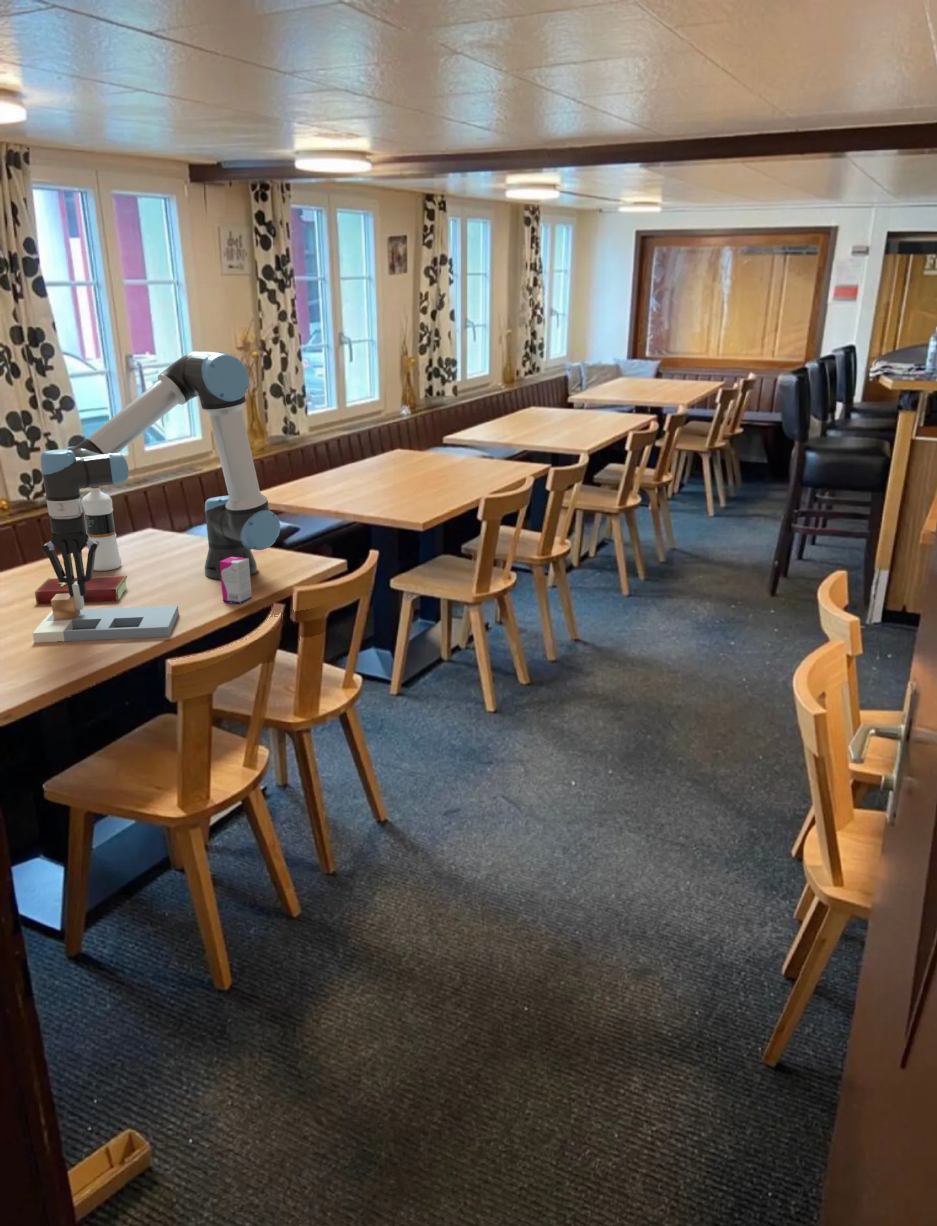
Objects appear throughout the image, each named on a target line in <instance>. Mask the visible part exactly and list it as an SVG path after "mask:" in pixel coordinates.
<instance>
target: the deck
mask: <svg viewBox="0 0 937 1226" xmlns="http://www.w3.org/2000/svg"><path fill="white" fill-rule="evenodd" d="M179 615H180V613H179V605H178V604H177V605H155V606H154V605H153V606H152V605H151V606H149V605H147V606H128V607H106V608H105V607H104V608H103V607H102V608H83V609H82V610H80V613H79V614H78V616H77V617H76V618H75V619H54V617H53V610H52V609H51V611H50V612H49V613H48V614H47V616H46V617H44V619H43V620H42V621H41V623H39V624H38V626H37V627H36V629H34V631H33V632H32V637H33V642H34V643H35V644H37V643H39V644H40V643H58V642H57V641H62V642H79V641H84V642H85V641H101V640H125V639H144V638H165V637H166V638H167V637H168V638H169V637H170V636H171V633H172V631H173V629H174V627H175V624H176V623H177V622H176V621H177V620H176V619H178V617H179Z"/></svg>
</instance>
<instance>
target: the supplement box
mask: <svg viewBox="0 0 937 1226" xmlns="http://www.w3.org/2000/svg"><path fill="white" fill-rule="evenodd" d="M220 571H221V579H220V582H221V592H222V594H221V595H222V602H223V601H224V602H223V603H229V602H232V603H231V604H238V605H241V604H244V603H245V602H247V601H250V600H251V599H253V598H252V597H253V596H252V584H251V582H252V581H251V576H250V568H249V558H240V557H229V558H227V559H225V560H222V561H220ZM243 602H244V603H243Z"/></svg>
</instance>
